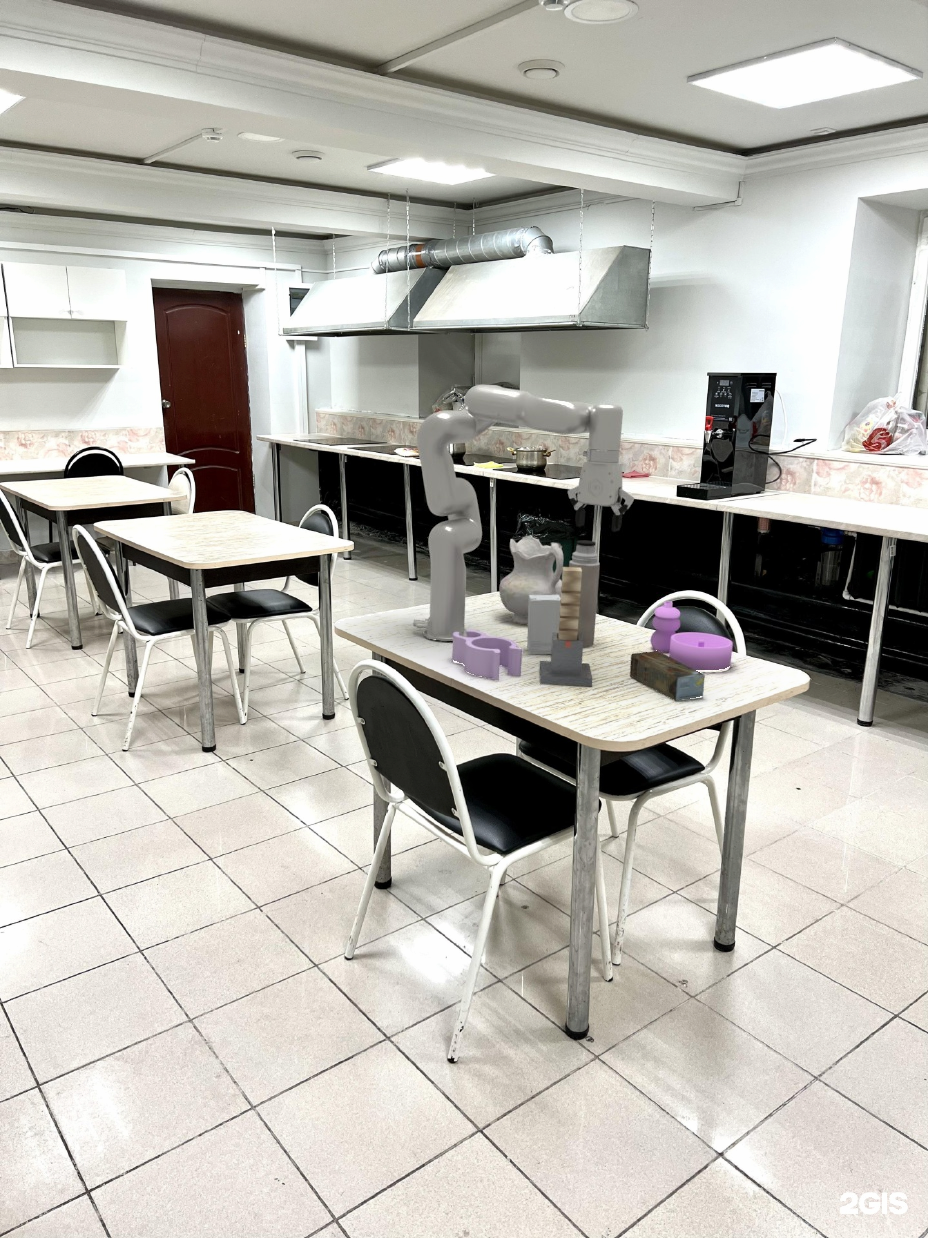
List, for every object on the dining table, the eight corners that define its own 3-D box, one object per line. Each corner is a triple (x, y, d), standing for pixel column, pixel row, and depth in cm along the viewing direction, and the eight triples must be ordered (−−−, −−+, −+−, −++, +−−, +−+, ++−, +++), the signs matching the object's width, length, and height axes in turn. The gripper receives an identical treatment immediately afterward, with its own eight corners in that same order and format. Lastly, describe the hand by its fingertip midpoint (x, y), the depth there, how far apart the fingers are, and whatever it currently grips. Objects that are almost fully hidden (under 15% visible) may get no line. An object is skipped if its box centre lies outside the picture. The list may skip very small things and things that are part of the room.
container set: (743, 669, 230) (749, 618, 226) (697, 676, 222) (702, 624, 219) (676, 643, 251) (680, 597, 247) (632, 649, 244) (636, 601, 240)
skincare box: (556, 649, 241) (560, 594, 237) (560, 655, 235) (563, 599, 231) (525, 648, 240) (528, 593, 237) (527, 654, 235) (530, 598, 231)
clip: (439, 660, 227) (440, 634, 225) (480, 654, 234) (481, 628, 232) (487, 683, 211) (488, 654, 210) (529, 675, 218) (530, 647, 217)
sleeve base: (540, 683, 212) (542, 642, 209) (539, 668, 223) (541, 629, 221) (591, 686, 211) (595, 645, 208) (588, 671, 222) (591, 631, 220)
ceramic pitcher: (581, 626, 269) (590, 542, 264) (542, 633, 254) (551, 544, 249) (523, 613, 282) (531, 533, 278) (483, 618, 268) (490, 534, 263)
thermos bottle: (563, 638, 251) (570, 537, 244) (593, 640, 250) (600, 539, 243) (564, 646, 243) (571, 542, 236) (594, 648, 243) (602, 544, 236)
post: (556, 670, 214) (563, 570, 209) (555, 665, 219) (562, 566, 213) (575, 671, 214) (582, 571, 208) (574, 666, 218) (581, 567, 213)
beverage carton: (674, 702, 203) (677, 674, 201) (627, 677, 220) (629, 651, 218) (703, 699, 206) (706, 671, 204) (655, 674, 223) (657, 648, 221)
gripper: (563, 454, 219) (558, 525, 224) (629, 460, 210) (623, 534, 214) (578, 453, 225) (573, 522, 230) (643, 459, 216) (636, 531, 220)
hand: (597, 528), depth 222 cm, fingers open, 9 cm apart
